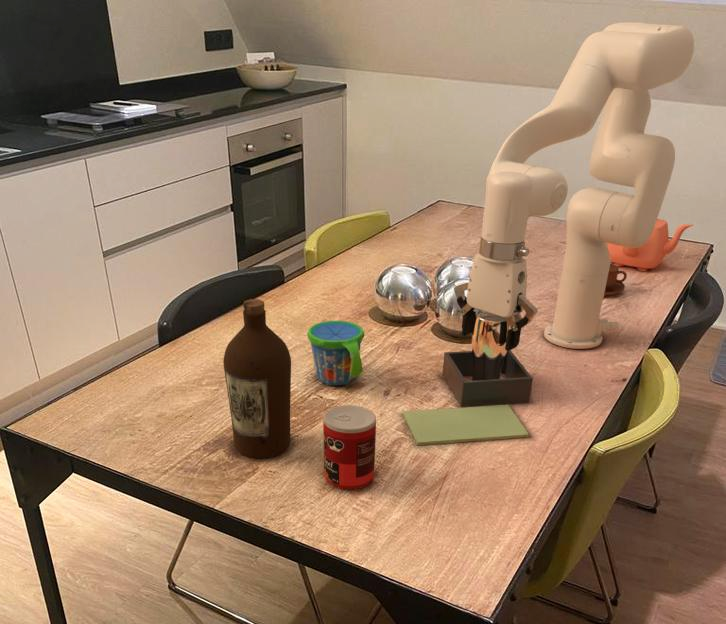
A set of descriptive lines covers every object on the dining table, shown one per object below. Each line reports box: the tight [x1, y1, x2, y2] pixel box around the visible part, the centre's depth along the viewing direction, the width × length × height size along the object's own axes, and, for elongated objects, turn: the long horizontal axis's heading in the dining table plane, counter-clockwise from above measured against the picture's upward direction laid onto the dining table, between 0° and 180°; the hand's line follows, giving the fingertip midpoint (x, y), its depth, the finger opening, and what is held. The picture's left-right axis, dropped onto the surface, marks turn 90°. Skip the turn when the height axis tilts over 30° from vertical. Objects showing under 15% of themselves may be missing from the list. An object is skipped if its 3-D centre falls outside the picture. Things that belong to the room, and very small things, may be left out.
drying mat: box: [402, 404, 530, 446], centre depth 135 cm, size 20×11×1 cm, turn 100°
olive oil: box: [223, 298, 292, 459], centre depth 122 cm, size 11×11×25 cm
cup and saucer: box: [604, 263, 628, 296], centre depth 193 cm, size 12×12×6 cm
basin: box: [442, 350, 534, 408], centre depth 146 cm, size 13×13×5 cm
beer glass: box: [469, 310, 511, 381], centre depth 144 cm, size 7×7×15 cm
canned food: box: [322, 404, 377, 491], centre depth 118 cm, size 8×8×11 cm
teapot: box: [606, 218, 694, 272], centre depth 209 cm, size 18×18×14 cm
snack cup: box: [306, 320, 365, 386], centre depth 147 cm, size 16×10×10 cm
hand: (489, 341), depth 142 cm, fingers open, 9 cm apart
